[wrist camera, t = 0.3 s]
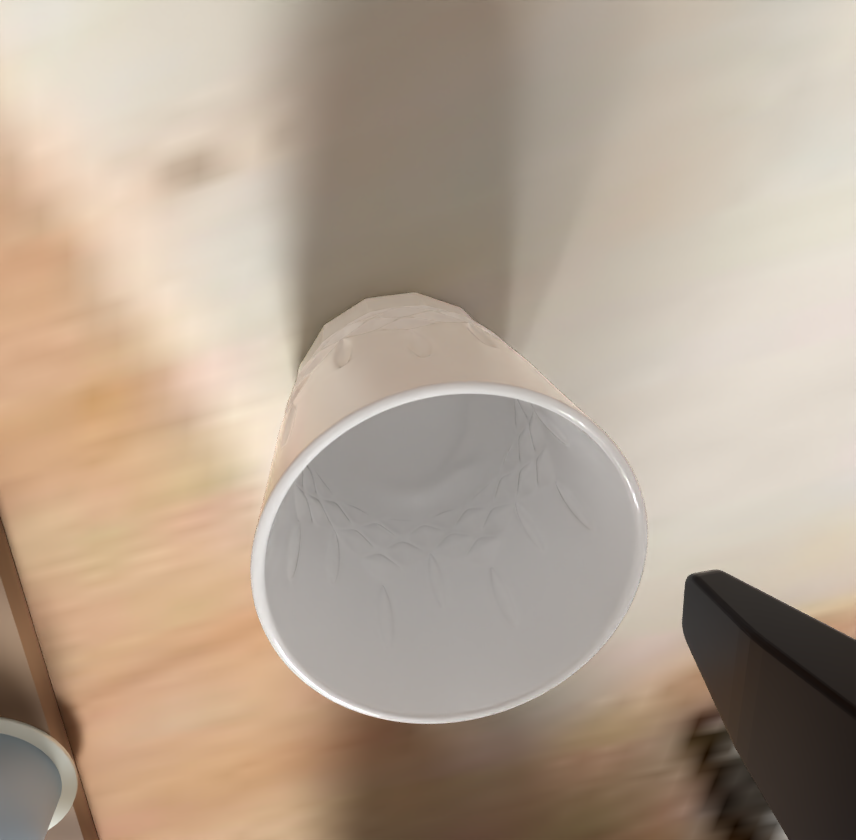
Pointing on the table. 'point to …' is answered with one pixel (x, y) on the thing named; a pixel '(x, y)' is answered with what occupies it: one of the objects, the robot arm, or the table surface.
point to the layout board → (36, 703)
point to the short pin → (26, 790)
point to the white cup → (439, 521)
